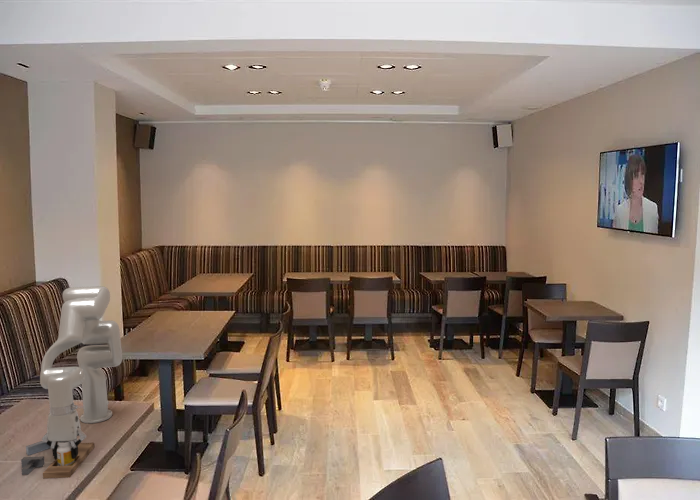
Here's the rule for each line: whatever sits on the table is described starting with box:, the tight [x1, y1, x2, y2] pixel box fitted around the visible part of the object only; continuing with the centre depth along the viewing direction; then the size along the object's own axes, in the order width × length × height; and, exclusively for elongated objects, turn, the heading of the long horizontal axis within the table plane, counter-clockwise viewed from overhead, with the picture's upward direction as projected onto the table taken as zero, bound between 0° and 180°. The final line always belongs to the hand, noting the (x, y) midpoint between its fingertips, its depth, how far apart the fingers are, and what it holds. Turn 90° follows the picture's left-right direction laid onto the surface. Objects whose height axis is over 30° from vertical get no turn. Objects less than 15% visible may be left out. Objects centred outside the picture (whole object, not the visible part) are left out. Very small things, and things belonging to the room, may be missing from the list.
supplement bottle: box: [57, 441, 75, 466], centre depth 205 cm, size 5×5×10 cm
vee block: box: [25, 440, 58, 457], centre depth 219 cm, size 9×14×3 cm, turn 93°
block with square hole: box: [42, 441, 95, 479], centre depth 209 cm, size 22×9×2 cm, turn 3°
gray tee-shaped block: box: [20, 455, 45, 476], centre depth 204 cm, size 7×7×3 cm
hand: (65, 457), depth 206 cm, fingers closed on supplement bottle, 5 cm apart
